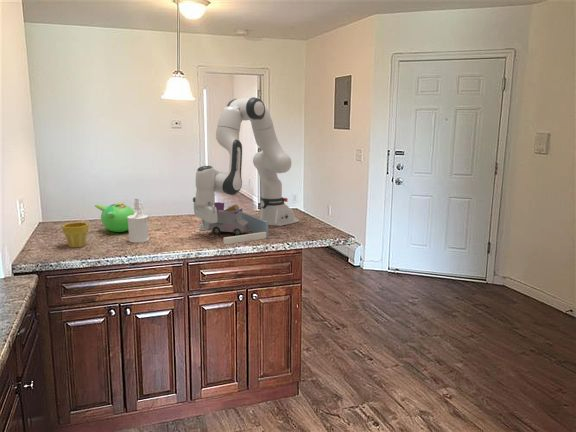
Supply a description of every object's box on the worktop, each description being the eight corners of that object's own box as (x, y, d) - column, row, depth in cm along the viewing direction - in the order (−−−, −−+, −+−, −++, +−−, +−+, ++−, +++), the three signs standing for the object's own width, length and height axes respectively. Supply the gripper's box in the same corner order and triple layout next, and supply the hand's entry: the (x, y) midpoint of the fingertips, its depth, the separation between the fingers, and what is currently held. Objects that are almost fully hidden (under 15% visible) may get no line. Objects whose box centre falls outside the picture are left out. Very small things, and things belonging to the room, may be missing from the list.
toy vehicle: (243, 237, 231) (242, 207, 228) (206, 233, 237) (205, 204, 233) (249, 232, 240) (249, 203, 237) (214, 229, 245) (213, 201, 242)
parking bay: (239, 225, 255) (239, 210, 253) (268, 238, 230) (268, 222, 228) (199, 230, 243) (198, 215, 241) (224, 244, 218) (224, 227, 216)
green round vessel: (142, 231, 239) (141, 203, 236) (111, 237, 227) (109, 207, 224) (125, 225, 251) (123, 198, 248) (93, 231, 239) (91, 202, 236)
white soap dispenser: (132, 237, 228) (130, 196, 224) (151, 237, 228) (149, 196, 223) (124, 243, 218) (121, 200, 213) (144, 243, 217) (142, 201, 213)
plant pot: (69, 242, 218) (67, 221, 216) (92, 242, 219) (90, 221, 217) (60, 249, 208) (58, 227, 206) (85, 248, 209) (83, 227, 207)
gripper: (220, 203, 218) (221, 232, 221) (203, 196, 235) (203, 223, 238) (207, 204, 215) (208, 234, 218) (191, 197, 232) (191, 225, 235)
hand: (205, 228), depth 228 cm, fingers closed
